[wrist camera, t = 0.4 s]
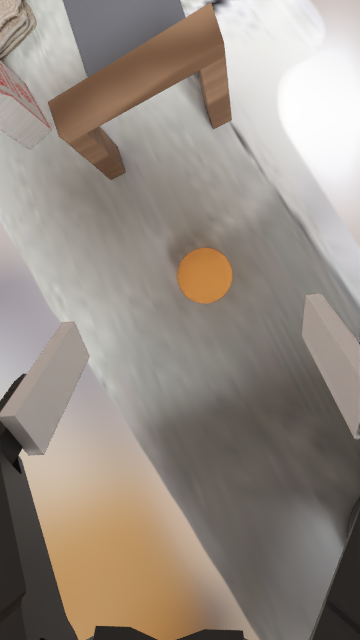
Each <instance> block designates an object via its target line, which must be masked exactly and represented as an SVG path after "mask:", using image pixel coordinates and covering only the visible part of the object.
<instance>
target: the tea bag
mask: <svg viewBox="0 0 360 640" xmlns="http://www.w3.org/2000/svg"><path fill="white" fill-rule="evenodd" d="M0 130H1V131H3V132H4V133H6V134H7V135H9V136H10V137H12V138H13V139H15V140H16V141H18V142H19V143H21V144H22V145H24V146H25V147H27V148H28V149H30V150H31V149H32V148H33V147H34V146H35V145H36V144H37V143H38V142H39V141H40V140H41V139H43V138H44V137H45V136H46V135H47V134H48V133H49V132H50V131H51V128H50V126H49V125H48V123H47V121H46V119H45V118H44V116H43V114H42V112H41V111H40V109H39V107H38V105H37V104H36V102H35V100H34V98H33V97H32V95H31V93H30V91H29V90H28V88H27V86H26V85H25V83H24V82H23V81H22V80H20V79H19V78H18V77H17V76H16V75H15V74H14V73H13V72H12V71H11V70H10V69H9V68H8V67H7V66H6V65H5V64H4V63H2V62H1V61H0Z"/></svg>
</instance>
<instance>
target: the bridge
mask: <svg viewBox="0 0 360 640" xmlns="http://www.w3.org/2000/svg"><path fill="white" fill-rule="evenodd" d="M196 72H198V76H199V81H200V85H201V89H202V93H203V98H204V102H205V105H206V108H207V111H208V114H209V118H210V121H211V124H212V127H213V129H215V128H217V127H219V126H221V125H223V124H225V123H227V122H229V121H231V120H232V118H231V108H230V98H229V88H228V78H227V68H226V58H225V48H224V41H223V38H222V35H221V32H220V29H219V26H218V23H217V19H216V16H215V13H214V10H213V7H212V4H211V3H209V4H207V5H206V6H204V7H202V8H201V9H199V10H198V11H196V12H194V13H193V14H191V15H189V16H188V17H186V18H184V19H183V20H181V21H180V22H178V23H176V24H175V25H173V26H171V27H170V28H168V29H167V30H165V31H163V32H162V33H160V34H158V35H157V36H155V37H153V38H152V39H150V40H149V41H147V42H145V43H144V44H142V45H140V46H139V47H137V48H136V49H134V50H132V51H131V52H129V53H127V54H126V55H124V56H122V57H121V58H119V59H118V60H116V61H114V62H113V63H111V64H109V65H108V66H106V67H105V68H103V69H101V70H100V71H98V72H96V73H95V74H93V75H91V76H90V77H88V78H87V79H85V80H83V81H82V82H80V83H78V84H77V85H75V86H74V87H72V88H70V89H69V90H67V91H65V92H64V93H62V94H60V95H59V96H57V97H56V98H54V99H52V100H51V101H49V102H48V104H49V107H50V110H51V113H52V116H53V120H54V123H55V126H56V129H57V132H58V135H59V137H61V138H62V139H63V140H64V141H65V142H66V143H68V144H69V145H70V146H71V147H72V148H74V149H75V150H76V151H77V152H78V153H80V154H81V155H82V156H83V157H84V158H86V159H87V160H88V161H89V162H90V163H92V164H93V165H94V166H95V167H96V168H97V169H99V170H100V171H101V172H102V173H103V174H105V175H106V176H107V177H108V178H109V179H113V178H115V177H117V176H119V175H121V174H123V173H125V172H126V171H125V168H124V165H123V162H122V159H121V156H120V153H119V150H118V147H117V146H116V145H115V144H114V142H113V141H112V140H111V139H110V138H109V137H108V136H107V135H106V133H105V132H104V131H103V130H102V129H101V128H100V127H99V126H100V125H102V124H104V123H106V122H108V121H109V120H111V119H113V118H115V117H117V116H118V115H120V114H122V113H124V112H126V111H128V110H129V109H131V108H133V107H135V106H137V105H138V104H140V103H142V102H144V101H146V100H147V99H149V98H151V97H153V96H155V95H156V94H158V93H160V92H162V91H164V90H165V89H167V88H169V87H171V86H173V85H174V84H176V83H178V82H180V81H182V80H183V79H185V78H187V77H189V76H191V75H192V74H194V73H196Z"/></svg>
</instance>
